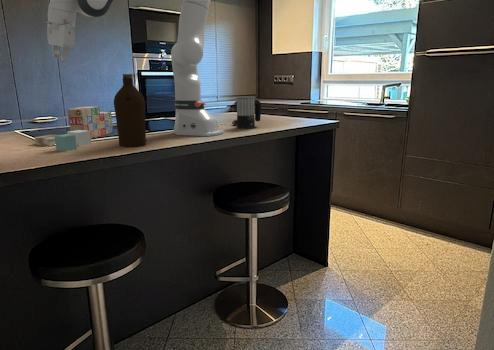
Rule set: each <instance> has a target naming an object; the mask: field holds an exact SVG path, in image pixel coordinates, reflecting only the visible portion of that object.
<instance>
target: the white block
mask: <svg viewBox="0 0 494 350" xmlns="http://www.w3.org/2000/svg"><path fill="white" fill-rule="evenodd" d="M66 134H71V135H75V139H76V147H84V146H88V144H89V145H92V138H91V135H90V131H86V130H75V131H66ZM83 145H84V146H83Z"/></svg>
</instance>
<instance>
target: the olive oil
mask: <svg viewBox="0 0 494 350" xmlns="http://www.w3.org/2000/svg"><path fill="white" fill-rule="evenodd" d="M113 98H114V99H113V107H114V115H115V120H116V128H117V137H118V145H119V146H120V147H124V148H135V147H136V148H137V147H143V146H146V144H147V136H146V135H147V134H146V133H147V131H146V101H145V98H144V96H143V93H141V91H140V90H138V89H137V87H135V86H134V81H133V74H131V73H123V74H122V86H121V88H119V90H118V91H117V92H116V93H115V95H114V97H113Z"/></svg>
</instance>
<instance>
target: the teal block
mask: <svg viewBox="0 0 494 350" xmlns="http://www.w3.org/2000/svg"><path fill="white" fill-rule="evenodd" d="M56 135H57V136H54V137H55V144H56V145H55V150H56V151H59V152H60V151H61V152H69V151H70V152H71V151H74V150H77V147H78V146H76V139H75V135H71V134H67V133H64V134H63V133H62V134H56Z"/></svg>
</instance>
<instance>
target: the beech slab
mask: <svg viewBox="0 0 494 350" xmlns="http://www.w3.org/2000/svg"><path fill="white" fill-rule="evenodd" d="M57 135H58V134H54V133H53V134H48V135H42V136H40V135H39V136H34V144H35V145H37V146H46V147H52V146H51V145H54V146H56V145H55V137H54V136H57Z"/></svg>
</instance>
